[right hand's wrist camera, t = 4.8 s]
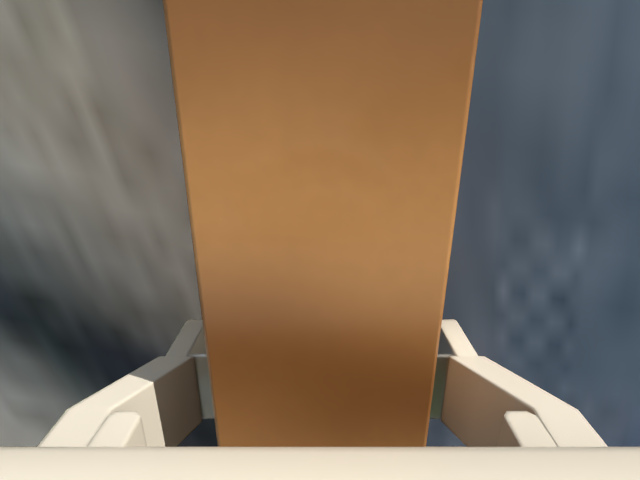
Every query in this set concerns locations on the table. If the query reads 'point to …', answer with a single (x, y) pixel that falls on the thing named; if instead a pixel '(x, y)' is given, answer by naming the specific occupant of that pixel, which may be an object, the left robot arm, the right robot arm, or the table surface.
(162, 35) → the table surface
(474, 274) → the table surface
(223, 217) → the beam
